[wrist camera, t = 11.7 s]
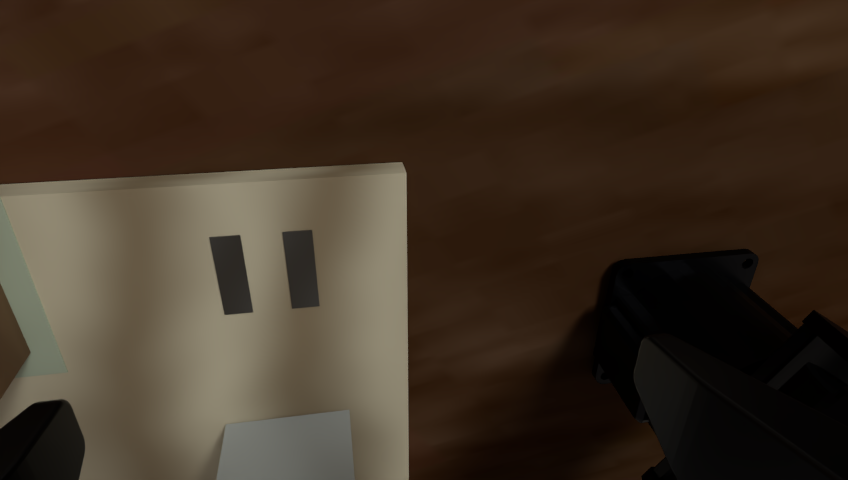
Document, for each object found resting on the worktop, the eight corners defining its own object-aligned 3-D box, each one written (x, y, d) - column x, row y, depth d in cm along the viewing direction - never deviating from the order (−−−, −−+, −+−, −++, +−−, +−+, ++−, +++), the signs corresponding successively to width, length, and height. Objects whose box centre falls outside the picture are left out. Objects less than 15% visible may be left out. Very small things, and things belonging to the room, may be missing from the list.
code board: (402, 162, 20) (406, 173, 19) (405, 469, 28) (408, 488, 27) (-259, 199, 17) (-290, 214, 16) (-49, 532, 25) (-62, 555, 24)
